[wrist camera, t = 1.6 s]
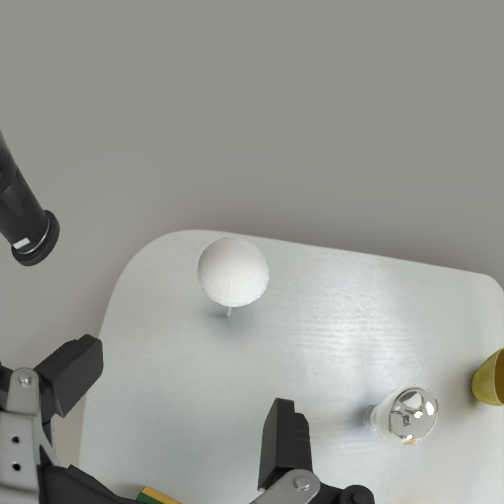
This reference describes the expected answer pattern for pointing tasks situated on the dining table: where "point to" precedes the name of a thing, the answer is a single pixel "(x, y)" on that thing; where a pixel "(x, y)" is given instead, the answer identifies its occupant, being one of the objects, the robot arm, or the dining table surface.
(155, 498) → the sponge
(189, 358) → the dining table surface
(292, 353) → the dining table surface
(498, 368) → the flower pot
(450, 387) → the dining table surface
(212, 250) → the lollipop
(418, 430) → the light bulb
